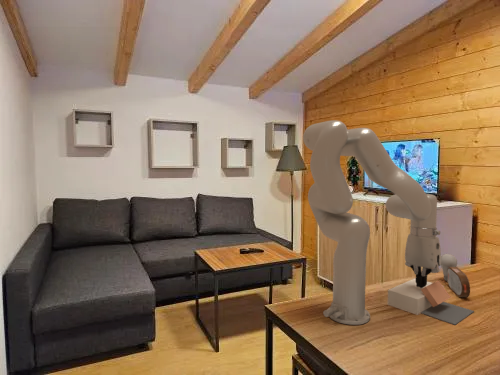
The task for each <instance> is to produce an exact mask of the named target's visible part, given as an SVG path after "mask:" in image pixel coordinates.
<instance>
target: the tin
mask: <svg viewBox="0 0 500 375" xmlns="http://www.w3.org/2000/svg"><path fill="white" fill-rule="evenodd" d="M447 281H448V282H447ZM447 281H446V282H447V285H448V286H449V289H451V291H453V293H454V294H456V296H457V297H459V298H467V299H468V298H469V297H470V295H471V285H470V280H469V278H468V275H467V274H466V273H465V272H464V271H463V270H462V269H460V268H459V267H458V266H456V267H449V268H448V269H447Z"/></svg>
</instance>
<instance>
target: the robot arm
mask: <svg viewBox="0 0 500 375" xmlns="http://www.w3.org/2000/svg"><path fill="white" fill-rule="evenodd" d="M302 137H303V138H302V139H303V140H302V141H303V144H304V145H305V147H306V148H307V149H309V150H310V151H312V152H311V155H310V162H309V164H310V165H309V167H310V172H311V177H312V179H313V181H314V183H313V184H312V185H311V186H310V188H309V189H308V192H307V193H308V194H307V200H308V204H309V206H310V209H311V212H312V214H313V217H314V219H315V221H316V223H317V225H318V226H317V227H318V228H319V229H320V231H321V232H322V234H323V235H324V236H325V237H326V238H328V239H330V240H332V241H335V242H337V245H336V248H335V250H334V254H333V260H332V261H333V262H332V267H333V268H332V270H333V271H332V273H333V275H332V276H333V277H332V283H333V284H332V285H333V286H332V301H331V302H330V306H329V307H328V308H327V309H325V310H324V311H323V312H322V313H323V316H324V317H326V318H330V319H331V320H332V321H335V322H337V323H340V324H345V325H351V326H357V325H358V326H359V325H364V324H367V323H368V322H369V321H370V320H371V314H370V312H369V311H368V310H367V309H366V281H367V280H366V279H367V278H366V277H367V271H366V269H367V267H366V266H367V265H366V264H367V252H368V245H369V241H370V236H371V228H370V225H369V224H368V221H366V219H365V218H363V217H362V216H361V215H360V216H359V215H357V214H354V213H350V210H352V208H353V204H354V200H353V199H354V198H353V194H352V191H351V189H350V187H349V184H348V182H347V179H346V177H345V175H344V172H343V170H342V166H341V157H354V158H355V159H356V161H357V162H358V164H359V166H360V167H361V168H362V169H363V171H364V173H365V174H366V175H367V177H368V178H369V179H370V181H372V182H373V183H374V184H376V185H378V186H379V187H382V188H384V189H386V190H388V191H390V192H392V193H393V195H391V196H389V197H388V198H387V199H386V202H385V209H386V211H387V213H389V214H390V215H392V216H393V217H396V218H400V219H406V220H410V226H409V228H410V230H409V232H410V233H408V234H407V239H406V243H405V249H404V260H405V262H404V264H405V266H406V267H408V268H411V269H412V270H411V271H413V274H414V275H415V278H416V283H417V284H416V286H417V287H420V288H423V287H425V286H426V285H427V282H428V275H430V274H434V273H439V272H440V267H441V256H442V254H441V253H442V250H441V242H440V237H438V236H440V235H441V230H438V228H437V213H438V212H437V210H438V209H437V207H438V197H437V196H436V195H434V194H432V193H431V194H429V193H426V192H425V190H424V188H423V187H422V185H420V183H419V182H418V181H417V180H416V179H414V178H413V176H410V174H408V173H407V172H406V171H404V170H403V169H401V168H400V167H399V166H398V165H397V164H396V163H395V162H394V161H393V159H392V158H391V156H390V154H389V152H388V151H387V150H386V148H385V146H384V145H383V143H382V142H381V140H380V139H379V137H378V136H377V134H376V133H375V131H373V130H372V129H371V128H368V127H357V128H350V129H348V128H347V126H346V124H345V123H344V122H342V121H341V120H336V119H335V120H326V121H323V122H318V123H312V124H311V125H309V126H308V127H307V128H306V129H305V130H304V133H303V136H302Z"/></svg>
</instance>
